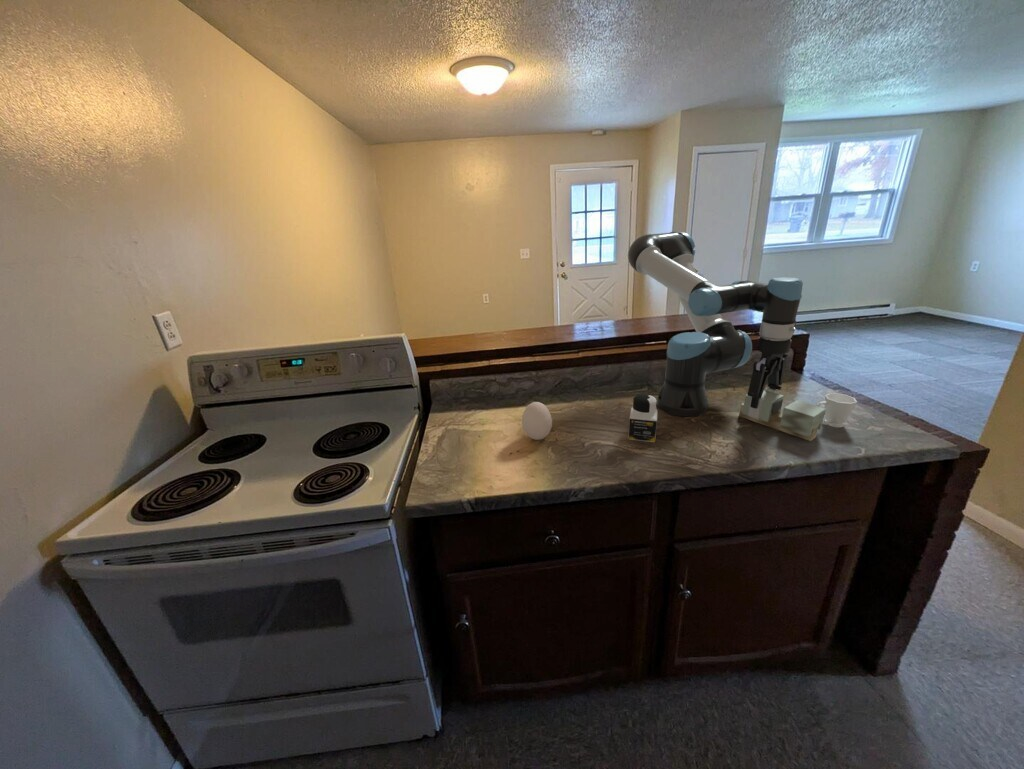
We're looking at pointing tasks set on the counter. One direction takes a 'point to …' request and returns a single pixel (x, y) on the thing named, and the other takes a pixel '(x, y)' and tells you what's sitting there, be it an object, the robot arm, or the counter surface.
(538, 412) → the egg
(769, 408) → the block
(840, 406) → the cup
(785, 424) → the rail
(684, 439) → the counter surface
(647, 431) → the medicine bottle
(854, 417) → the counter surface
